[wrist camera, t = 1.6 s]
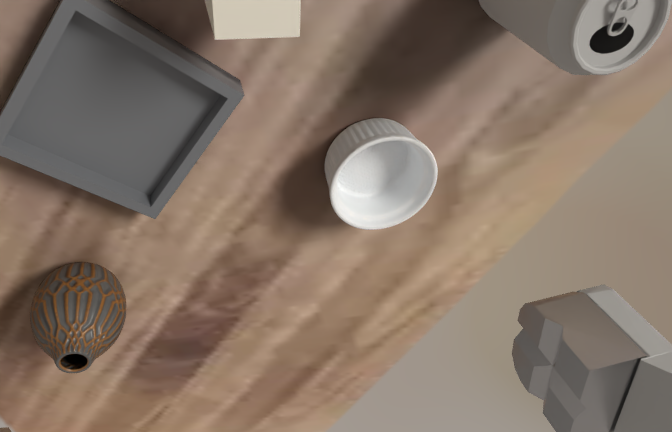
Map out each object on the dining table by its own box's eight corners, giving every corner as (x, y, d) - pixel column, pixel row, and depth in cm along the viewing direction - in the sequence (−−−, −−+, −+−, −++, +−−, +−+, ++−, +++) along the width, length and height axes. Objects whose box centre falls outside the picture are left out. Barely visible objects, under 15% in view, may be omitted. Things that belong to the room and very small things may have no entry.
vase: (99, 236, 46) (92, 316, 39) (141, 290, 50) (141, 370, 44) (18, 269, 46) (-3, 354, 39) (68, 319, 50) (57, 404, 44)
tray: (-10, 129, 39) (-17, 148, 37) (72, -23, 34) (68, -10, 32) (154, 200, 45) (155, 219, 43) (239, 79, 41) (244, 95, 39)
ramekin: (406, 198, 52) (424, 227, 49) (312, 203, 50) (324, 234, 46) (428, 109, 47) (450, 135, 44) (323, 110, 44) (338, 137, 41)
